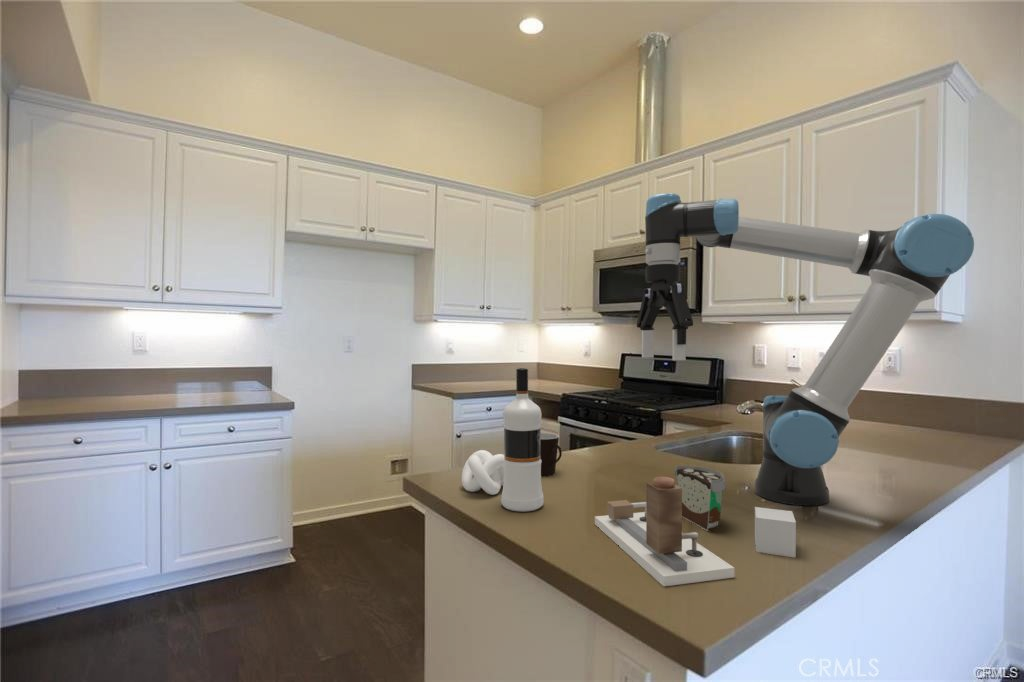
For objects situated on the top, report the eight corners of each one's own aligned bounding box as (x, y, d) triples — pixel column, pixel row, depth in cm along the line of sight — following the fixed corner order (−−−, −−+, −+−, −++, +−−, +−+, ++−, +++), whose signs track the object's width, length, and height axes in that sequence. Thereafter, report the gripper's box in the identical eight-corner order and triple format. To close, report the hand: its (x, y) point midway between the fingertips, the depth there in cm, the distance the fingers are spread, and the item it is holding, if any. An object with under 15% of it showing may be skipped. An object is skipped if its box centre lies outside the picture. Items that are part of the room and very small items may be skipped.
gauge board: (650, 518, 104) (650, 493, 104) (734, 577, 79) (734, 544, 79) (594, 524, 102) (594, 498, 102) (663, 586, 76) (663, 552, 76)
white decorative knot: (499, 481, 132) (499, 446, 132) (520, 494, 121) (520, 455, 121) (457, 486, 127) (457, 450, 127) (475, 500, 116) (475, 461, 116)
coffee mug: (524, 469, 143) (524, 433, 143) (555, 468, 144) (555, 432, 144) (531, 481, 132) (531, 442, 131) (564, 480, 133) (564, 441, 132)
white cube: (791, 544, 92) (792, 511, 92) (795, 558, 86) (796, 522, 86) (754, 539, 94) (754, 506, 94) (755, 552, 89) (756, 517, 89)
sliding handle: (689, 546, 86) (690, 473, 86) (704, 556, 83) (704, 480, 82) (646, 551, 85) (646, 476, 84) (658, 561, 81) (659, 483, 80)
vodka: (495, 501, 115) (495, 367, 115) (533, 497, 119) (533, 366, 118) (510, 515, 107) (509, 370, 106) (550, 509, 110) (550, 368, 110)
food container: (740, 531, 98) (740, 478, 98) (713, 534, 96) (713, 481, 96) (699, 510, 110) (699, 463, 110) (674, 513, 108) (674, 465, 108)
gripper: (622, 271, 128) (622, 356, 128) (678, 256, 104) (677, 361, 104) (650, 271, 130) (650, 356, 130) (711, 257, 105) (710, 361, 106)
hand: (662, 359), depth 117 cm, fingers open, 13 cm apart
